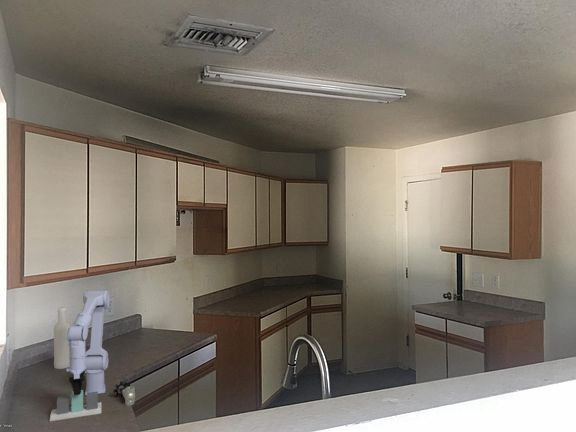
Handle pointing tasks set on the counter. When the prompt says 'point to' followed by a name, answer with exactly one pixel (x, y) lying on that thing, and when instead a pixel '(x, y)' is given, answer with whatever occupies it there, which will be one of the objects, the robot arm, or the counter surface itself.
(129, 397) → the valve
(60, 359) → the bottle
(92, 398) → the rail plate
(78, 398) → the block
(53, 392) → the counter surface
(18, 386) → the counter surface
